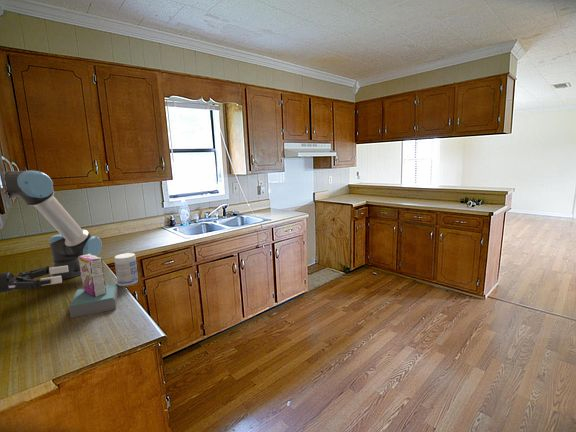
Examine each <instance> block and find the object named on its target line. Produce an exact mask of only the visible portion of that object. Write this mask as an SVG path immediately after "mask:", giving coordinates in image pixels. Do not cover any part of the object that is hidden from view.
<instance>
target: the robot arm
mask: <svg viewBox="0 0 576 432" xmlns="http://www.w3.org/2000/svg"><path fill="white" fill-rule="evenodd" d="M5 173H6V174H5V181H6V187H7V192H8V195H9V199H10V200H12V199H14V198H21V200H22V201H24V203H25V204H27V206H30V207H35V209H36V210H37V211H38V212H39V213H40V214H41V215H42V216H43V217H44V218H45V219H46V221H48V222H49V224H51V225H52V227H53V228H54V229H55V230H56V231H57V232H58V234H55V235H52V236H50V238H49V246H50V253H51V257H52V263H53V264H52V267H50V266H49V265H47V266H45V267H40V268H36V269H32V270H26V271H22V272H18V273H19V274H17V275H14V274H13V272H11V271H7V272H0V293H2V294H3V293H8V292H11V291H14V290H39V289H41V288H42V287H43V286H49V285H56V284H62V283H63V280H68V279H71V278H76V277H78V276H81V271H80V265H79V258H78V256H83V255H86V254H92V255H95V256H97V257H98V255H99V254H100V253H101V251H102V246H103V243H102V240H101V239H100V237H98V236H94V235H93V236H92V234H91V233H90V231H88V230H87V229H82V228H81V226H80V225H79V224H78V223H77V222H76V221H75V219H74V218H73V217H72V216H71V215H70V214H69V213H68V211H67V210H66V209H65V208H64V206H63V205H62V204H61V203H60V201H58V199H57V198H56V197H55V196H54V194H55V191H54V186H53V185H54V181H53V180H52V179H51V177H50V176H49V175H47V174H46V173H45V172H41V171H39V170H8V171H5ZM47 275H50V277H43V276H47ZM40 277H42V278H40ZM37 278H40V279H37ZM41 286H42V287H41Z"/></svg>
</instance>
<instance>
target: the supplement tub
mask: <svg viewBox="0 0 576 432" xmlns="http://www.w3.org/2000/svg"><path fill="white" fill-rule="evenodd" d="M114 266H115V275H116V276H115V277H116V282H117V283H116V284H117V286H119V287H129V286H133V285H135V284H137V283H138V281H139V275H138V267H137V256H136V254H135V253H132V252H126V253H125V252H124V253H121V254H117V255H115V256H114Z"/></svg>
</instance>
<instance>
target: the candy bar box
mask: <svg viewBox="0 0 576 432" xmlns="http://www.w3.org/2000/svg"><path fill="white" fill-rule="evenodd" d="M78 258H79V265H80V271H81V275H80V278H81V282H82V289H83V290H84V292H86V293H88V294H90V295H92V296H94V297H98V296H101V295H104V294H106V286H105V285H106V280H105V273H104V272H105V271H104V267H103V260H102V259H103V258H102V257H99V256H98V255H97V256H95V255H92V254H86V255H83V256H78Z"/></svg>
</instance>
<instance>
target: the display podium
mask: <svg viewBox="0 0 576 432" xmlns="http://www.w3.org/2000/svg"><path fill="white" fill-rule="evenodd" d="M105 286H106V294H104V295H101V296H98V297H94V296H92V295H90V294H88V293H86V292H84V290H83V288H80V289H77V290H76V291H75V293H74V295H73V297H72V300H71V302H70V305H69V307H68V311H69V312H68V313H69V317H70V319H72V318H77V317H81V316H82V317H83V316H86V315H92V314H96V313H103V312H107V311H111V310H112V311H113V310H116V309H117V303H118V297H119V295H118V294H119V290H118V288H119V287H118V284H117V283H110V284H105Z"/></svg>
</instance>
